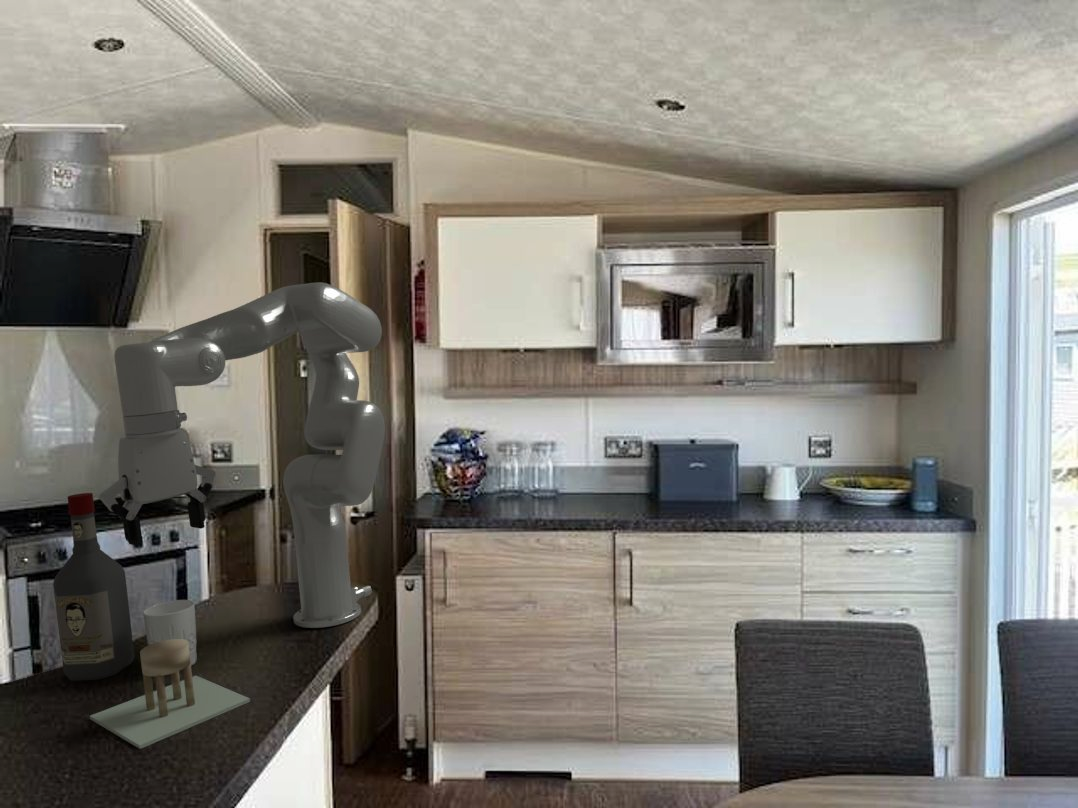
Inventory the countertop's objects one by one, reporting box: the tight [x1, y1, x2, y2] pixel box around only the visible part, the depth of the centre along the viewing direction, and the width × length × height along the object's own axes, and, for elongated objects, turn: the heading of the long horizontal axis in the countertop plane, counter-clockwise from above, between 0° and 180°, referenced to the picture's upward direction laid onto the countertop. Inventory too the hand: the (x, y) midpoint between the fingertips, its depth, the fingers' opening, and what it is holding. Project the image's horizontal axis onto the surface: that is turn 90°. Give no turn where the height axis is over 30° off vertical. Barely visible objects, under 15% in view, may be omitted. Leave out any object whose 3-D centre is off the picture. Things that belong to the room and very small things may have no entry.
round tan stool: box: [139, 639, 195, 717], centre depth 116 cm, size 6×6×9 cm
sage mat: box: [89, 675, 251, 750], centre depth 116 cm, size 16×16×1 cm
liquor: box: [52, 492, 135, 682], centre depth 133 cm, size 9×9×30 cm
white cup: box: [142, 599, 198, 666], centre depth 134 cm, size 8×8×10 cm
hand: (167, 535), depth 121 cm, fingers open, 9 cm apart
